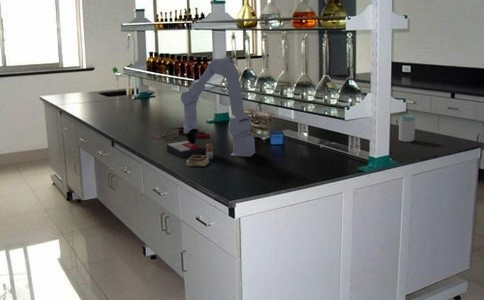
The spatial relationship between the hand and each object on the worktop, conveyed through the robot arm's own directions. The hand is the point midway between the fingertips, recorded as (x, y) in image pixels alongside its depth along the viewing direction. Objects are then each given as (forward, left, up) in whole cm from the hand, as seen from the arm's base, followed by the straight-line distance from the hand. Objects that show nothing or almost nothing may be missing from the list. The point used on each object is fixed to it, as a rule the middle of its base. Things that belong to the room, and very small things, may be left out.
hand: (192, 144), depth 268 cm
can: (-98, -26, -2) cm, 101 cm away
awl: (-15, +18, -1) cm, 24 cm away
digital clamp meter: (+14, -20, -2) cm, 24 cm away
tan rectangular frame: (-13, +28, -1) cm, 31 cm away
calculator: (0, +9, -2) cm, 10 cm away
